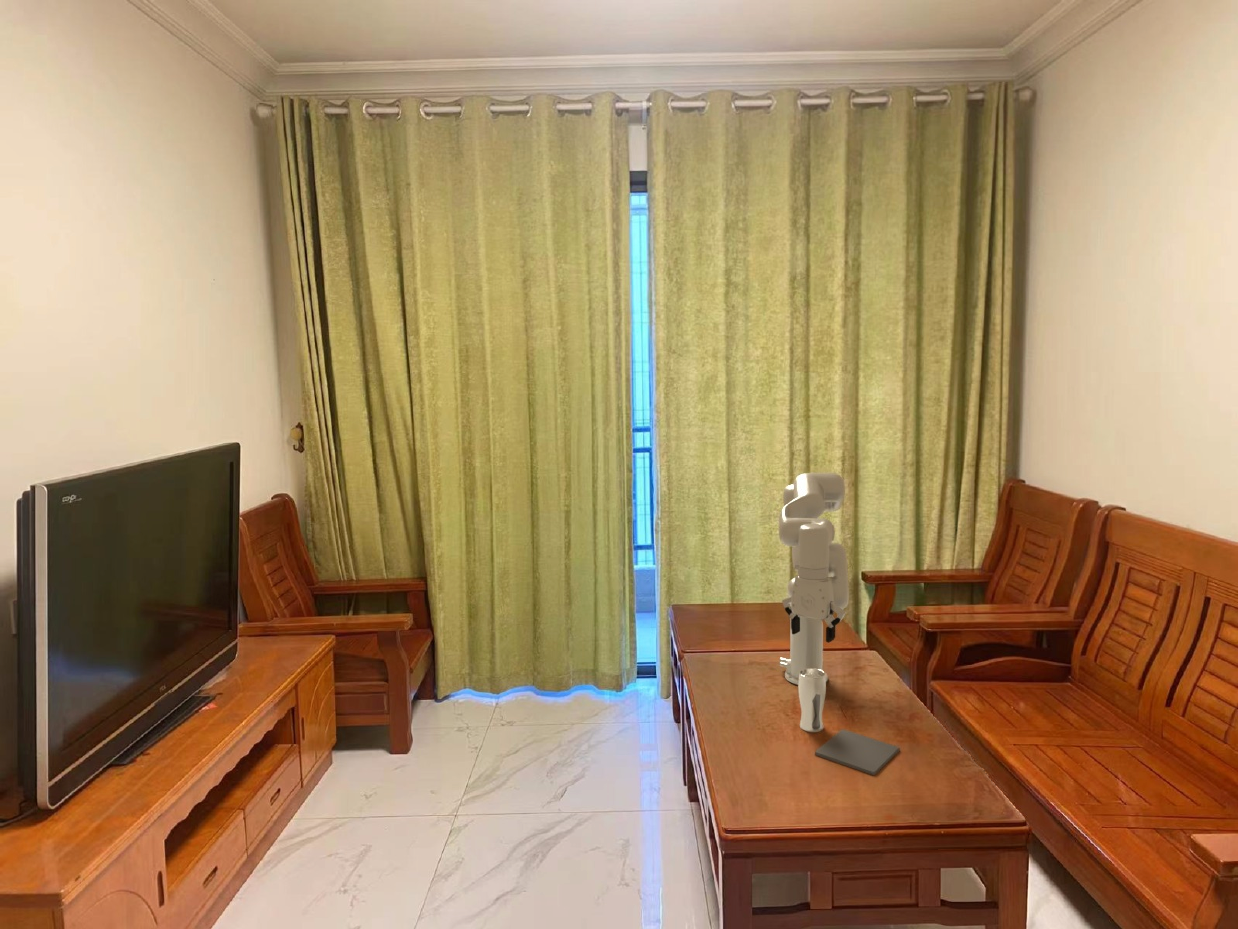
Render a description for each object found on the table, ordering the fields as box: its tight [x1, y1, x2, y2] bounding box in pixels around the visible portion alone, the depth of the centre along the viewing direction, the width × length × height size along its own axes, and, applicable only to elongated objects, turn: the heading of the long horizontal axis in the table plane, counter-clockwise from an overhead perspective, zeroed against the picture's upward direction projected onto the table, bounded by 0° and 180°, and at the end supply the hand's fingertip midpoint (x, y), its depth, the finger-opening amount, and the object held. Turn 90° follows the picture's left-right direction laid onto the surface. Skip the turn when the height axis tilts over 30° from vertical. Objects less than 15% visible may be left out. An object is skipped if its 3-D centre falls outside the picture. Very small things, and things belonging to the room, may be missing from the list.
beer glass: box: [797, 668, 827, 733], centre depth 204 cm, size 7×7×15 cm
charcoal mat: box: [814, 729, 900, 776], centre depth 191 cm, size 15×15×1 cm
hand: (812, 636), depth 201 cm, fingers open, 9 cm apart
